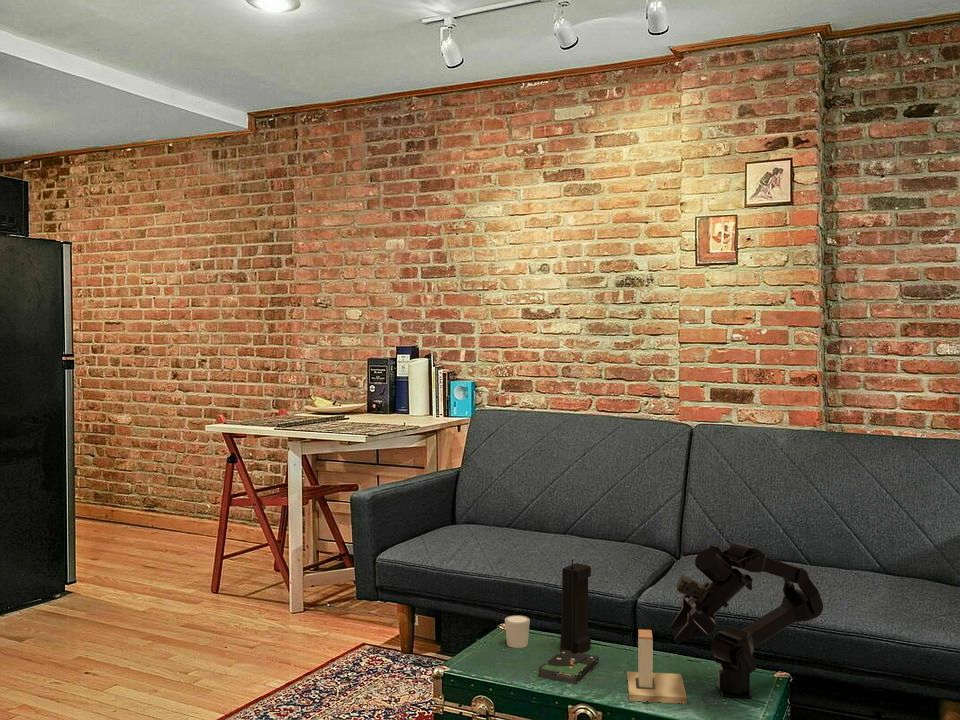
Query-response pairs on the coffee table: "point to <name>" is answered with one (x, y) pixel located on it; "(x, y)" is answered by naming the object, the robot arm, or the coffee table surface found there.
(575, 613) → the dark tower with antenna
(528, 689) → the coffee table surface
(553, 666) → the disk drive
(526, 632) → the white cup
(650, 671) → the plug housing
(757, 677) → the coffee table surface
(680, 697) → the header board
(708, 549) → the robot arm
